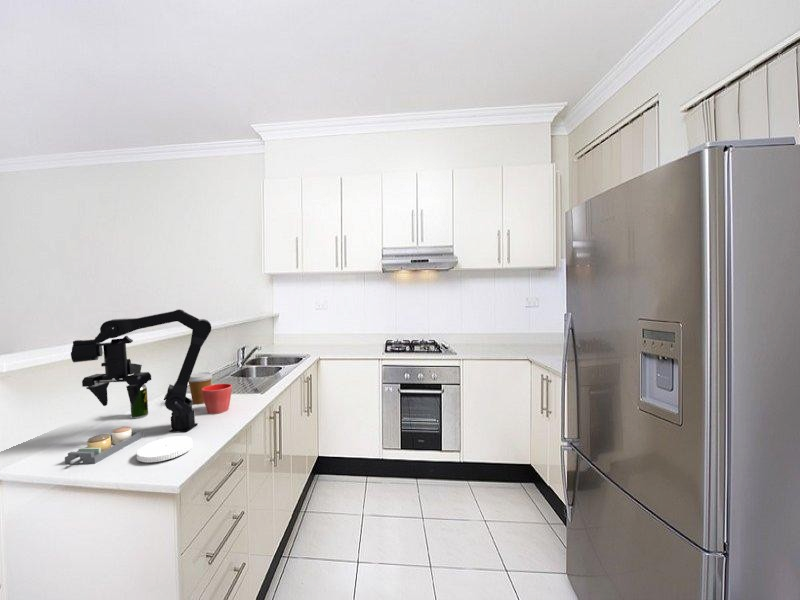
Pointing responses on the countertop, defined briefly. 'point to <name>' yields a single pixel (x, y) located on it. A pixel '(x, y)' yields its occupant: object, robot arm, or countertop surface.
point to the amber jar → (100, 442)
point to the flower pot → (217, 397)
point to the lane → (91, 459)
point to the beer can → (140, 404)
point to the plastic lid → (164, 449)
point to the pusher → (95, 450)
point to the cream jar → (121, 434)
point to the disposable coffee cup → (199, 386)
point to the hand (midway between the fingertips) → (119, 405)
